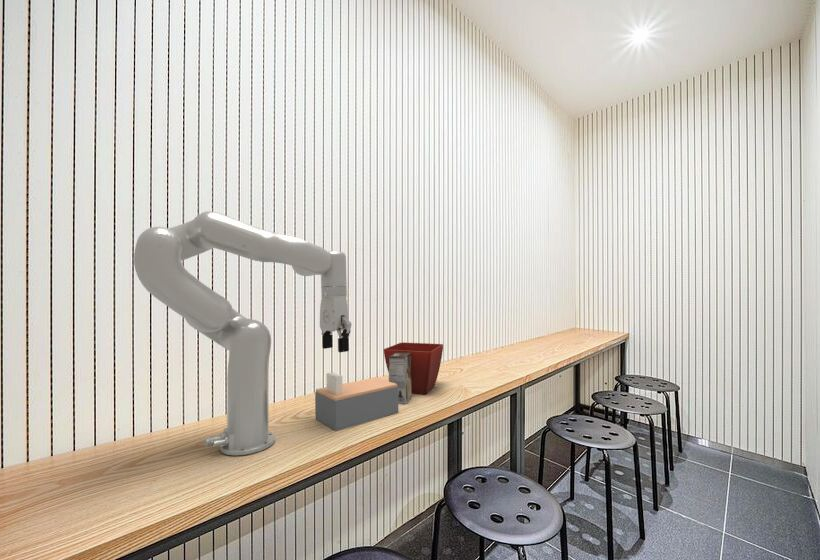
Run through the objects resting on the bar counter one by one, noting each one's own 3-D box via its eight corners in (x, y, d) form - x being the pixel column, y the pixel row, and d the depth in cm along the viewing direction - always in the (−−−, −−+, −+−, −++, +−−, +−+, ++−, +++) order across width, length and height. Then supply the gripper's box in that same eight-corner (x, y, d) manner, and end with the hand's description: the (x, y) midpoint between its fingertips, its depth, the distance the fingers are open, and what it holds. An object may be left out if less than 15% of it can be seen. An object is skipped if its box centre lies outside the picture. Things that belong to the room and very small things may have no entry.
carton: (336, 431, 97) (336, 401, 98) (315, 418, 107) (315, 392, 108) (398, 412, 112) (398, 387, 112) (374, 403, 121) (374, 379, 122)
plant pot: (431, 398, 127) (430, 351, 127) (383, 393, 133) (382, 349, 134) (444, 385, 144) (444, 343, 145) (401, 381, 151) (400, 342, 152)
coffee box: (395, 395, 130) (394, 352, 131) (412, 396, 129) (411, 352, 129) (388, 403, 121) (388, 356, 122) (406, 404, 120) (406, 356, 120)
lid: (335, 401, 98) (335, 380, 98) (315, 392, 107) (315, 372, 108) (397, 386, 112) (397, 368, 112) (375, 379, 122) (375, 362, 122)
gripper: (309, 293, 110) (310, 348, 109) (337, 292, 97) (338, 355, 96) (331, 292, 115) (332, 345, 114) (360, 291, 102) (361, 351, 101)
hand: (335, 349), depth 105 cm, fingers open, 9 cm apart
